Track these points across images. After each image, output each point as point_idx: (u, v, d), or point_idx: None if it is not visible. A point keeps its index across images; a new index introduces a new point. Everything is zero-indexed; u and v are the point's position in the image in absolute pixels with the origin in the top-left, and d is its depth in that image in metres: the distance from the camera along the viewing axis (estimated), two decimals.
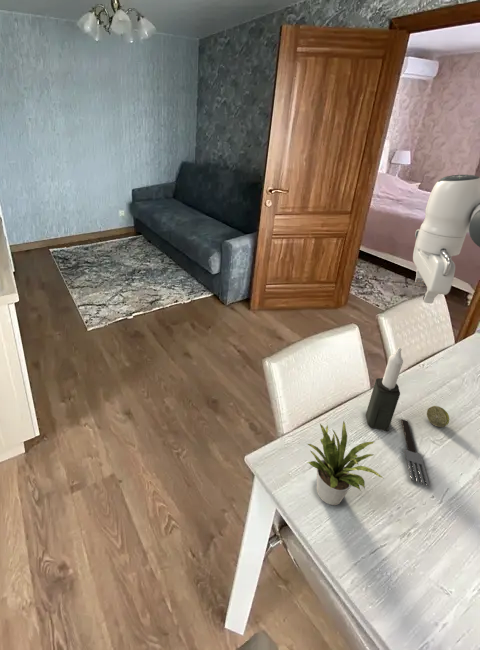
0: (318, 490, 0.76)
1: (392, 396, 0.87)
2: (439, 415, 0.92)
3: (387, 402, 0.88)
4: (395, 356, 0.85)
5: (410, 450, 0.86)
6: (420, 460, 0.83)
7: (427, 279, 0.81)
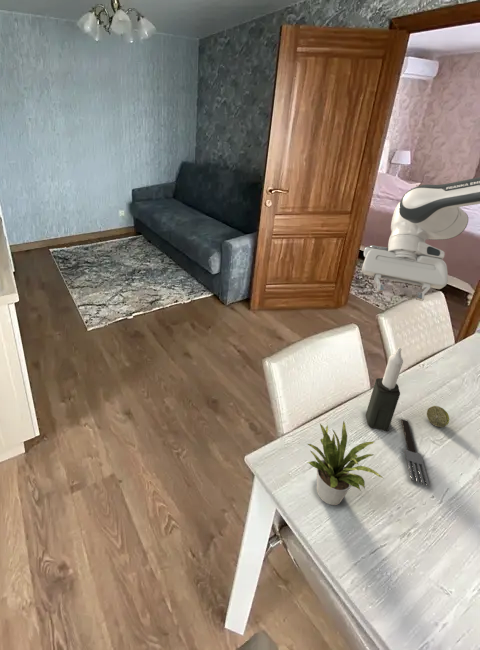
0: (318, 490, 0.76)
1: (392, 396, 0.87)
2: (439, 415, 0.92)
3: (387, 402, 0.88)
4: (395, 356, 0.85)
5: (410, 450, 0.86)
6: (420, 460, 0.83)
7: None
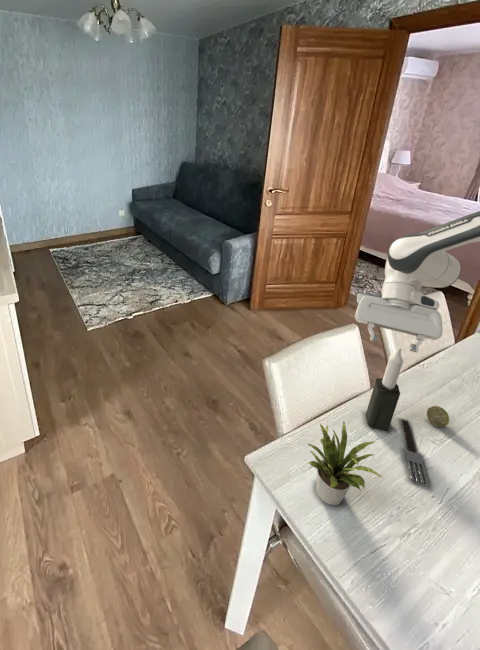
0: (318, 490, 0.76)
1: (392, 396, 0.87)
2: (439, 415, 0.92)
3: (387, 402, 0.88)
4: (395, 356, 0.85)
5: (410, 450, 0.86)
6: (420, 460, 0.83)
7: None
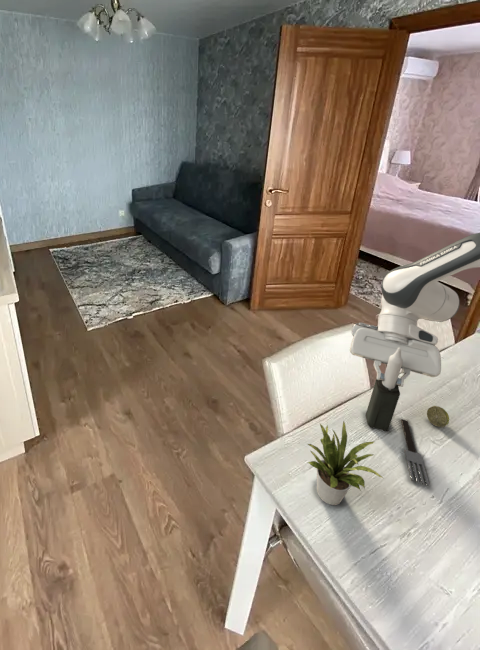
0: (318, 490, 0.76)
1: (392, 397, 0.87)
2: (439, 415, 0.92)
3: (387, 402, 0.88)
4: (395, 356, 0.85)
5: (410, 450, 0.86)
6: (420, 460, 0.83)
7: None
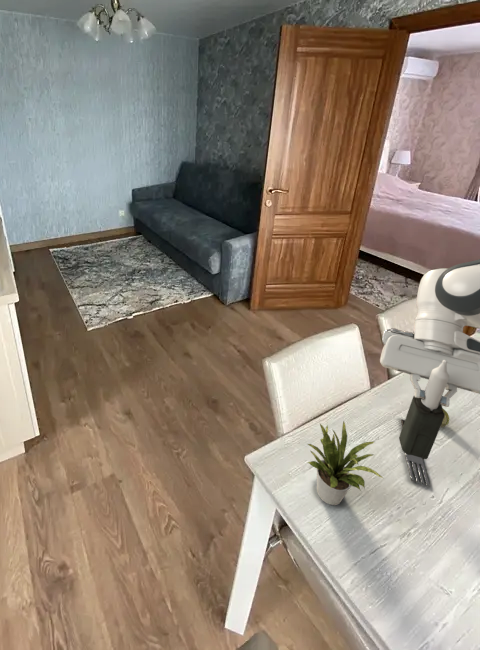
0: (318, 490, 0.76)
1: (434, 419, 0.72)
2: None
3: (428, 425, 0.73)
4: (439, 370, 0.70)
5: None
6: (420, 460, 0.83)
7: None
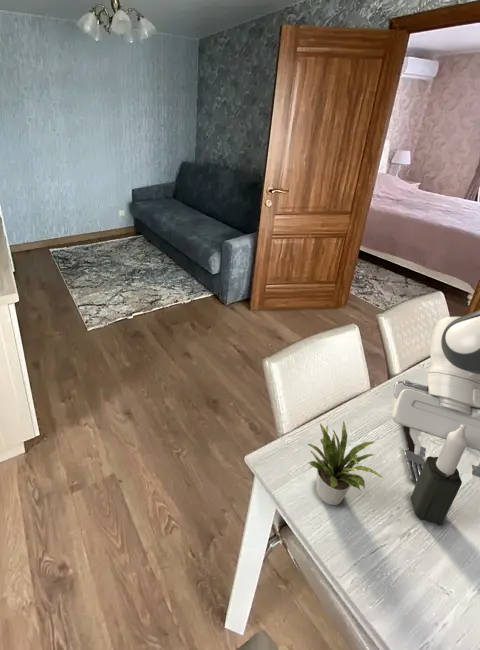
0: (318, 490, 0.76)
1: (451, 486, 0.67)
2: None
3: (444, 492, 0.68)
4: (457, 435, 0.65)
5: (410, 450, 0.86)
6: (420, 460, 0.83)
7: None
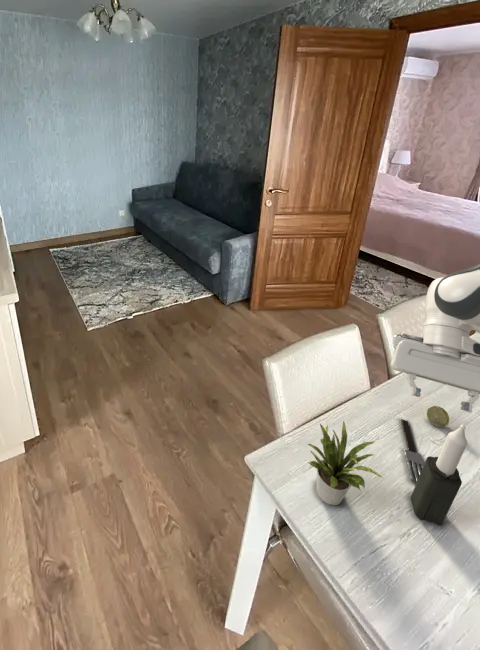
0: (318, 490, 0.76)
1: (451, 486, 0.67)
2: (439, 415, 0.92)
3: (444, 492, 0.68)
4: (457, 435, 0.65)
5: (410, 450, 0.86)
6: (420, 460, 0.83)
7: None
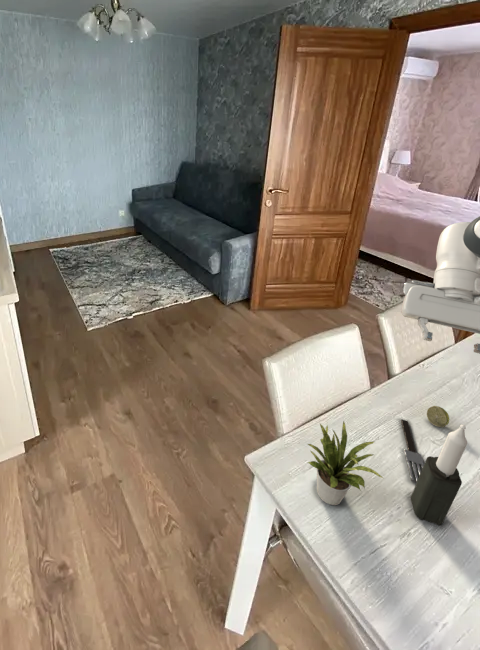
0: (318, 490, 0.76)
1: (451, 486, 0.67)
2: (439, 415, 0.92)
3: (444, 492, 0.68)
4: (457, 435, 0.65)
5: (410, 450, 0.86)
6: (420, 460, 0.83)
7: None
